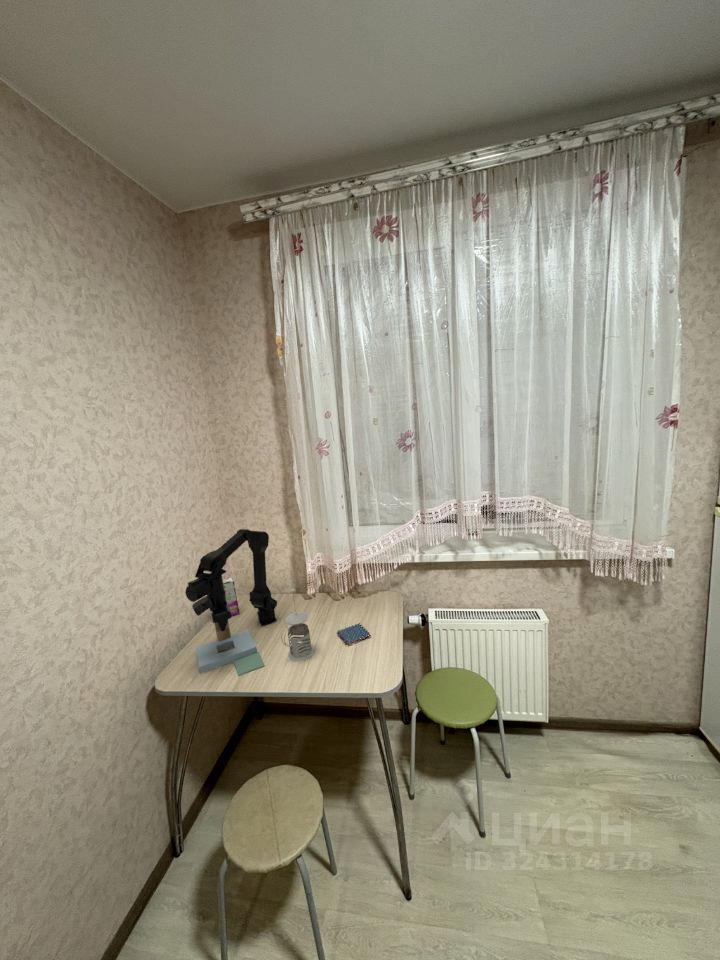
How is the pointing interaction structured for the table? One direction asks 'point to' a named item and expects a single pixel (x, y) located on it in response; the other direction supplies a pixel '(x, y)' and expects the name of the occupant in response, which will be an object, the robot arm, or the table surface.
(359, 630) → the woven mat
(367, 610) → the table surface
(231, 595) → the candy bar box
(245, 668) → the green pad
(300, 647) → the french press
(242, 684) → the table surface
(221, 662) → the pocket board
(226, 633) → the walnut block
